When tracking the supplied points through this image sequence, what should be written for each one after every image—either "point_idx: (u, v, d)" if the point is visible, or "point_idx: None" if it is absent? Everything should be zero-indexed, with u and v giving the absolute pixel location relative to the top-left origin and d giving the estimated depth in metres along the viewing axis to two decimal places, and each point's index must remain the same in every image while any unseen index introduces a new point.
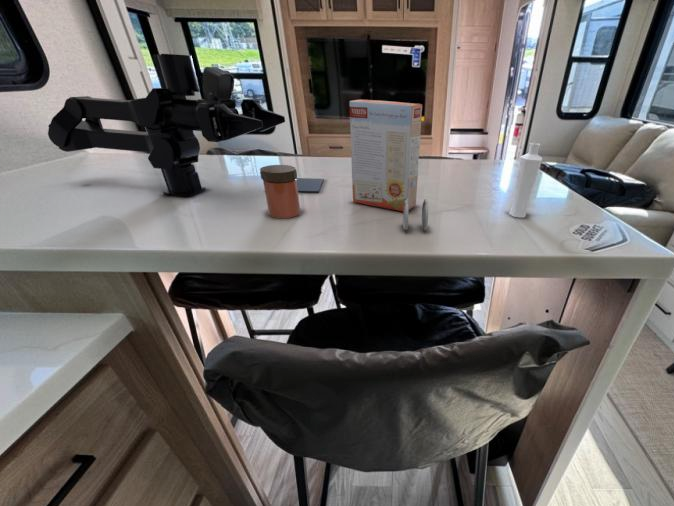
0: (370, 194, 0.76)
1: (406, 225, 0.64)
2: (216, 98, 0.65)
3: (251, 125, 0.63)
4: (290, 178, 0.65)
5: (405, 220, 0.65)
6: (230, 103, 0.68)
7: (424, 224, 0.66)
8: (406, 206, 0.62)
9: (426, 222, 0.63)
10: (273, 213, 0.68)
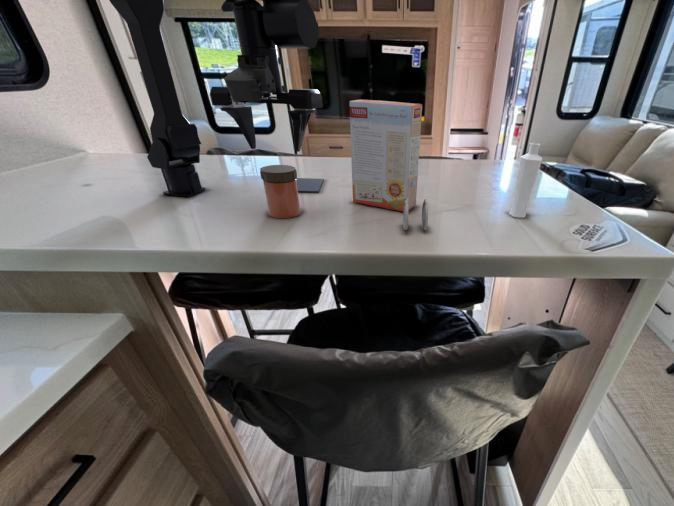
0: (370, 194, 0.76)
1: (406, 225, 0.64)
2: None
3: None
4: (290, 178, 0.65)
5: (405, 220, 0.65)
6: None
7: (424, 224, 0.66)
8: (406, 206, 0.62)
9: (426, 222, 0.63)
10: (273, 213, 0.68)
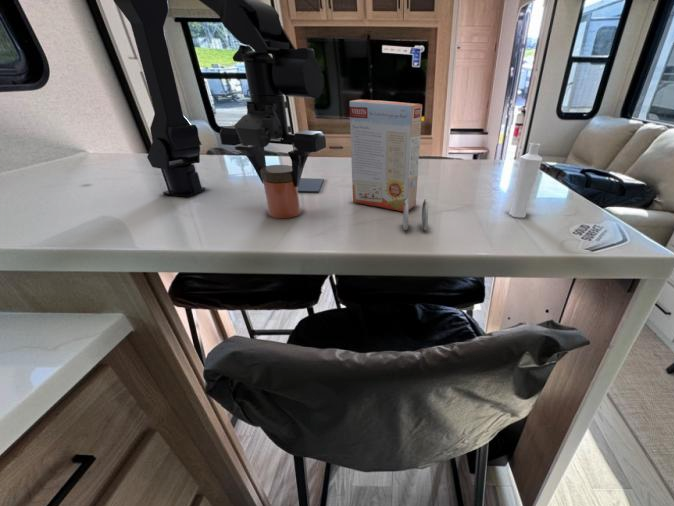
0: (370, 194, 0.76)
1: (406, 225, 0.64)
2: None
3: None
4: (290, 178, 0.65)
5: (405, 220, 0.65)
6: None
7: (424, 224, 0.66)
8: (406, 206, 0.62)
9: (426, 222, 0.63)
10: (273, 213, 0.68)
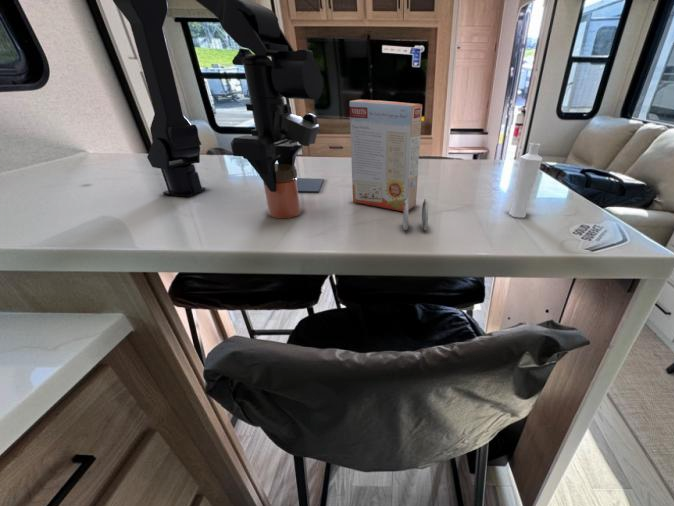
0: (370, 194, 0.76)
1: (406, 225, 0.64)
2: (284, 134, 0.60)
3: (268, 182, 0.64)
4: None
5: (405, 220, 0.65)
6: None
7: (424, 224, 0.66)
8: (406, 206, 0.62)
9: (426, 222, 0.63)
10: (273, 214, 0.68)
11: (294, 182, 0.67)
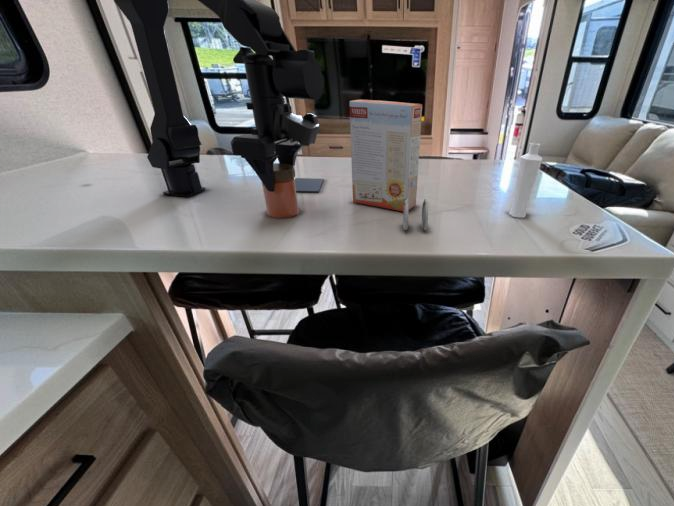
0: (370, 194, 0.76)
1: (406, 225, 0.64)
2: (284, 133, 0.60)
3: (266, 182, 0.63)
4: None
5: (405, 220, 0.65)
6: None
7: (424, 224, 0.66)
8: (406, 206, 0.62)
9: (426, 222, 0.63)
10: (271, 213, 0.68)
11: (292, 182, 0.67)
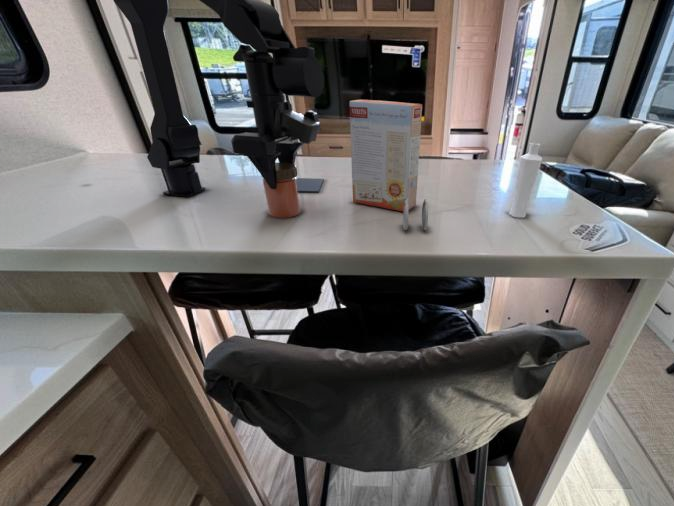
0: (370, 194, 0.76)
1: (406, 225, 0.64)
2: (285, 131, 0.60)
3: (268, 179, 0.63)
4: None
5: (405, 220, 0.65)
6: None
7: (424, 224, 0.66)
8: (406, 206, 0.62)
9: (426, 222, 0.63)
10: (279, 214, 0.68)
11: None
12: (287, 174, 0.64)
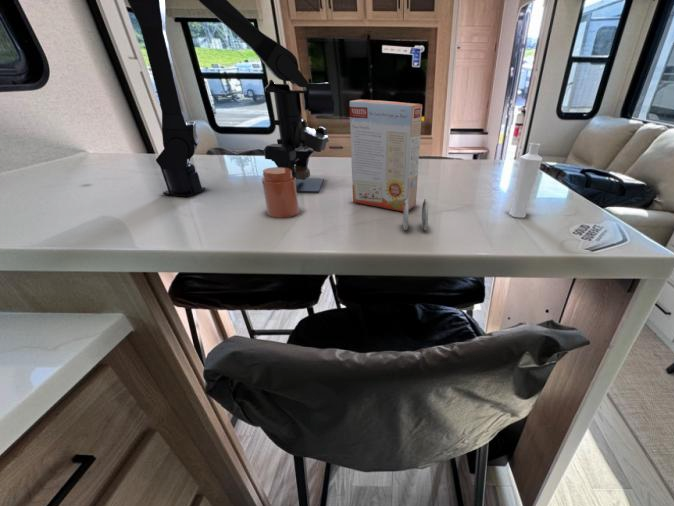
0: (370, 194, 0.76)
1: (406, 225, 0.64)
2: (302, 143, 0.80)
3: None
4: None
5: (405, 220, 0.65)
6: None
7: (424, 224, 0.66)
8: (406, 206, 0.62)
9: (426, 222, 0.63)
10: (278, 214, 0.68)
11: None
12: (303, 175, 0.84)
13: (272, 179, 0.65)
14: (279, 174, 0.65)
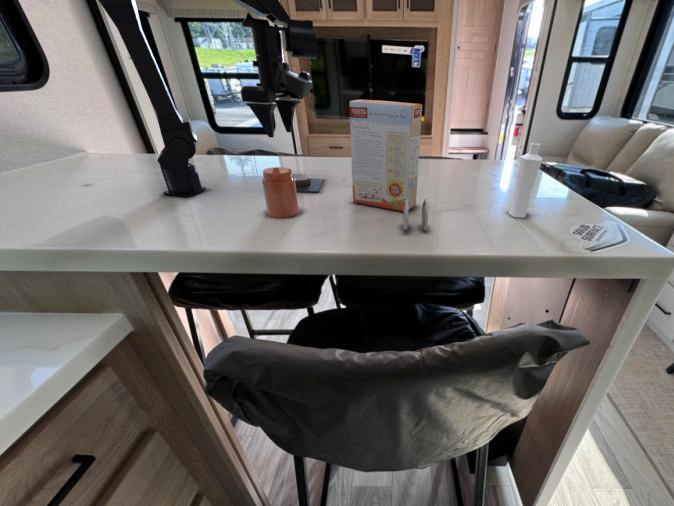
0: (370, 194, 0.76)
1: (406, 225, 0.64)
2: (283, 86, 0.74)
3: (267, 128, 0.76)
4: None
5: (405, 220, 0.65)
6: (286, 89, 0.77)
7: (424, 224, 0.66)
8: (406, 206, 0.62)
9: (426, 222, 0.63)
10: (278, 214, 0.68)
11: None
12: (304, 183, 0.86)
13: (272, 179, 0.65)
14: (279, 174, 0.65)
